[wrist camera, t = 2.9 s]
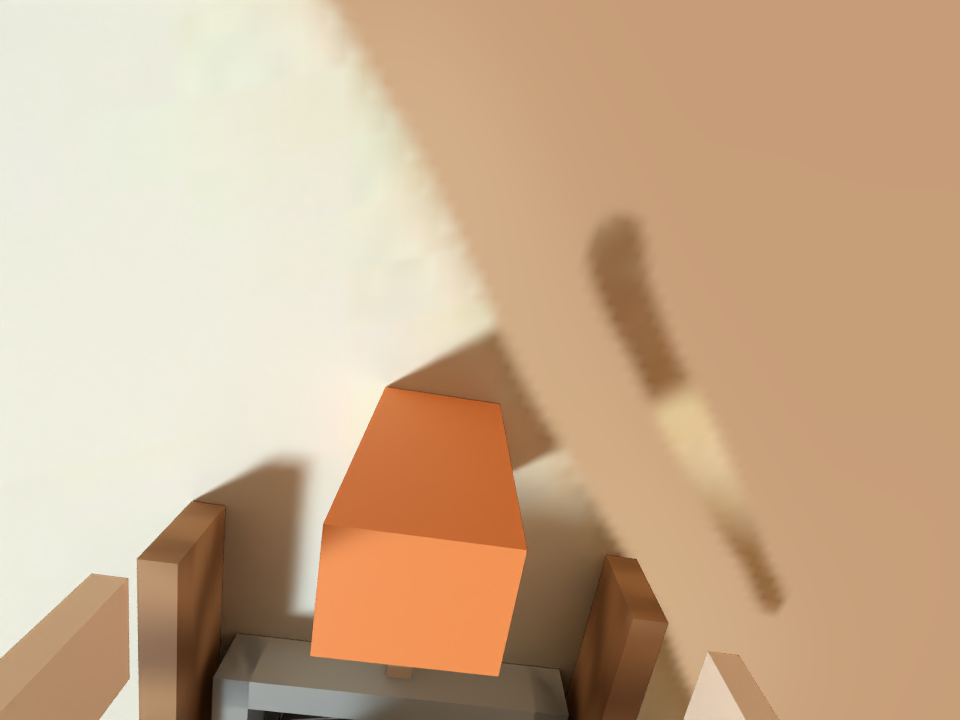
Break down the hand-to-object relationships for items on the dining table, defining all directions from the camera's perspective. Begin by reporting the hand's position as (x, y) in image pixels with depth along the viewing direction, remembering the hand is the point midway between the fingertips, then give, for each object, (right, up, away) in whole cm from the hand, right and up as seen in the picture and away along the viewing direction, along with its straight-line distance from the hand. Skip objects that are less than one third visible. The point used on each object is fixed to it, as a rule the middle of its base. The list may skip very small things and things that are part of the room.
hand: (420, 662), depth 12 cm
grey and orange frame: (-2, -7, +14) cm, 16 cm away
